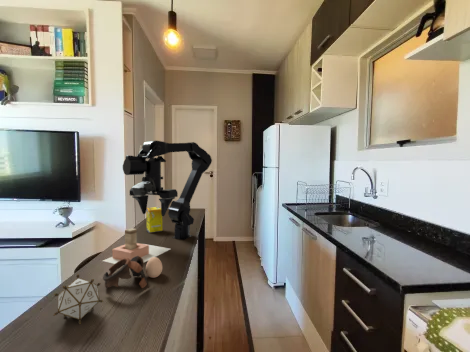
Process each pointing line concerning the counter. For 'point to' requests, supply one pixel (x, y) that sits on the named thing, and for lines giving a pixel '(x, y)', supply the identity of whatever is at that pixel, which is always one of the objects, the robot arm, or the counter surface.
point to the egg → (154, 267)
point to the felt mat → (153, 252)
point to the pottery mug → (125, 271)
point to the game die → (78, 298)
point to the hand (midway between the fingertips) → (153, 214)
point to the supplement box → (154, 219)
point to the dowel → (130, 239)
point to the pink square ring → (130, 251)
